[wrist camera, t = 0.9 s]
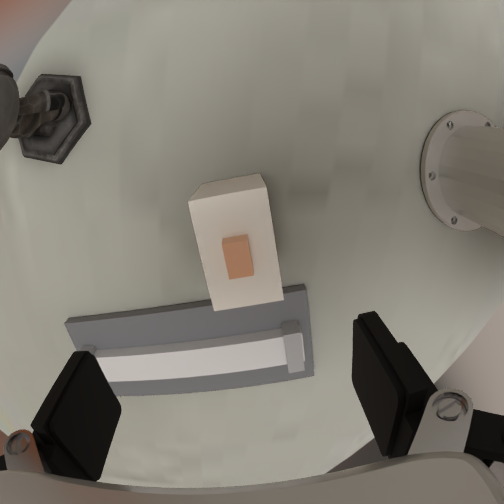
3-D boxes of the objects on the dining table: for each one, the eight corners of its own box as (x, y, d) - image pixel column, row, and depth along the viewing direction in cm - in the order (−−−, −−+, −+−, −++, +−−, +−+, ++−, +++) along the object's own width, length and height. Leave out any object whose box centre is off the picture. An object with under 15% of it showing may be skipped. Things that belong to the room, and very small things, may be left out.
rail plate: (304, 284, 31) (310, 301, 28) (312, 368, 35) (317, 389, 31) (68, 318, 32) (55, 334, 28) (104, 389, 35) (96, 407, 32)
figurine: (76, 54, 22) (-30, 18, 8) (97, 148, 26) (-15, 169, 12) (12, 93, 23) (-96, 92, 9) (30, 179, 26) (-79, 220, 12)
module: (259, 173, 27) (268, 190, 19) (273, 259, 30) (286, 308, 21) (202, 183, 27) (184, 205, 19) (220, 268, 30) (212, 320, 22)
